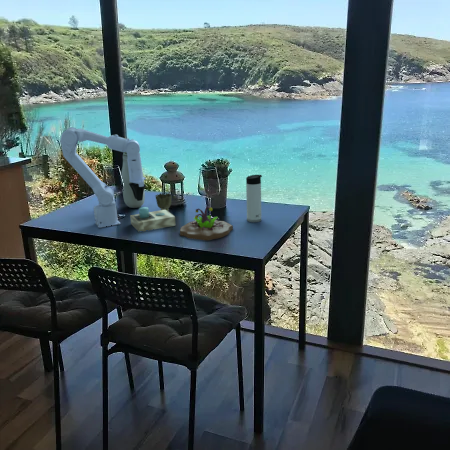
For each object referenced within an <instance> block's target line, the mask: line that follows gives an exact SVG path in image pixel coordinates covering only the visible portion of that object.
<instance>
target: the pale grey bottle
mask: <svg viewBox="0 0 450 450" xmlns="http://www.w3.org/2000/svg"><path fill="white" fill-rule="evenodd" d="M122 153H123V154H122V168H121V175H120V177H121V176H122V179H123V183H124V191H123V190H122V195H123V201H124V204H125V205H126V206H127V207H129V208H130V209H139V208H141V207H143V205H144V204H145V201H146V199H145V198H146V193H145V190H144V192H143V200H141V201H137V199H135V197H134V194H133V191H132V189H131V187H130V185H129V183H132V182H130V181H129V179H130V178H129V170H128V162H127V159H128V157H127V153H126V152H122ZM142 173H143V174H144V172H143V170H142ZM143 177H144V175H143ZM143 182H144V183H145V180H144V181H143Z"/></svg>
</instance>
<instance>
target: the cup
mask: <svg viewBox="0 0 450 450" xmlns="http://www.w3.org/2000/svg"><path fill="white" fill-rule="evenodd" d="M154 197H155V200H156V205H157V207H158V208H159V209H160V210H167V211H168V212H169V210H170V209H169V208H170V207H171V205H172V197H173V196H172V194H171V193H170V192H166V193H165V194H164V193H159V194H158V193H157V194H156V195H154Z"/></svg>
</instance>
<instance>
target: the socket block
mask: <svg viewBox="0 0 450 450" xmlns="http://www.w3.org/2000/svg"><path fill="white" fill-rule="evenodd" d="M129 217H130V224H131V225H132V227H134V229H135V230H137V232H139V231H143V232H147V231H146V230H148V231H152V230H153V229H154V230H158V229H163V228H170V227H174V226H176V216H175V215H174V214H173V213H171V212H170V211H169V210H168V211H167V210H161V209H160V210H155V211H149V217H148V218H140V215H139V213H137V214H132V215H131V214H130V215H129Z"/></svg>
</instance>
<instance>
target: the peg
mask: <svg viewBox="0 0 450 450" xmlns="http://www.w3.org/2000/svg"><path fill="white" fill-rule="evenodd" d="M138 211H139V213H138V214H139V215H140V218H148V217H149V212H150V210H149V207H148V206H141V207H138Z"/></svg>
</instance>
